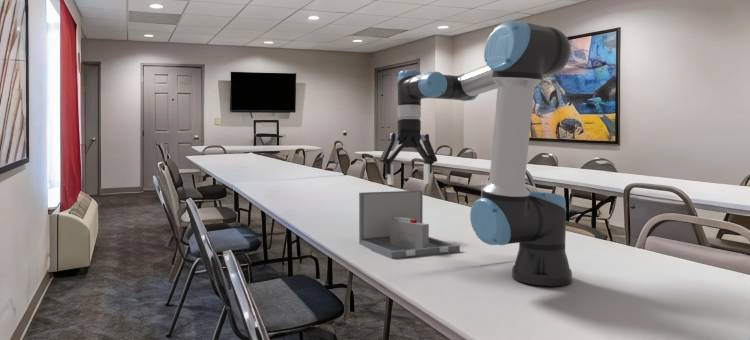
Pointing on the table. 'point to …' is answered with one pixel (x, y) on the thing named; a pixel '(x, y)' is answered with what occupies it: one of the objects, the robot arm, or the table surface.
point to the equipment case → (384, 208)
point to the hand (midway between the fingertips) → (408, 184)
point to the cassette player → (409, 233)
